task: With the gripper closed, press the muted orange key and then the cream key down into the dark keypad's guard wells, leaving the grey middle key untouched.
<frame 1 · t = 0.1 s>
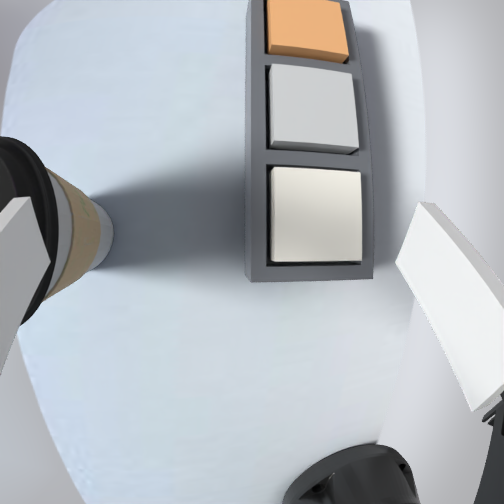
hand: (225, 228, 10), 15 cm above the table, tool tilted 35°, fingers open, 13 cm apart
key grey: (312, 108, 21), point 4 cm above the table, slide at 0.0 cm
coffee cup: (82, 235, 24), on the table
key orange: (305, 27, 21), point 4 cm above the table, slide at 0.0 cm
key cream: (315, 215, 21), point 4 cm above the table, slide at 0.0 cm
keypad: (297, 127, 26), on the table
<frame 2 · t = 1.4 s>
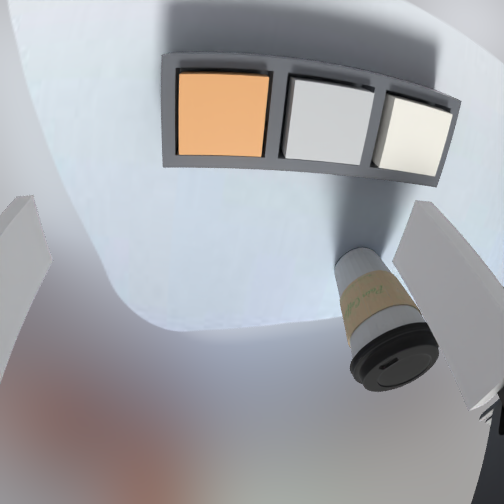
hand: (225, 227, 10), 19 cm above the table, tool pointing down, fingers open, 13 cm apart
key grey: (326, 120, 22), point 4 cm above the table, slide at 0.0 cm
coffee cup: (357, 265, 38), on the table
key orange: (222, 112, 22), point 4 cm above the table, slide at 0.0 cm
key cream: (411, 135, 23), point 4 cm above the table, slide at 0.0 cm
keypad: (312, 108, 26), on the table
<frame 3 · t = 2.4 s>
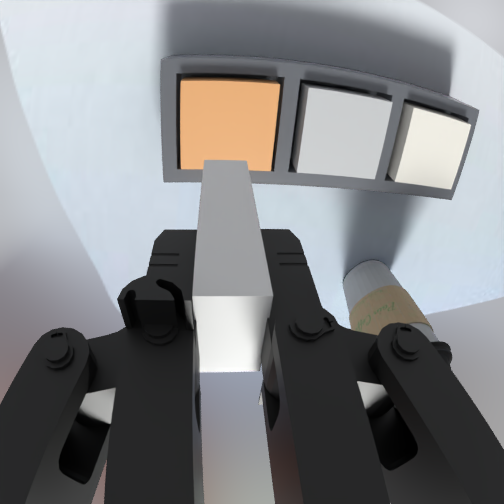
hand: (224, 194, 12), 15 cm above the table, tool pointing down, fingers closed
key grey: (340, 131, 21), point 4 cm above the table, slide at 0.0 cm
coffee cup: (366, 278, 36), on the table
key orange: (227, 122, 20), point 4 cm above the table, slide at 0.0 cm
key cream: (428, 147, 22), point 4 cm above the table, slide at 0.0 cm
keypad: (323, 116, 24), on the table
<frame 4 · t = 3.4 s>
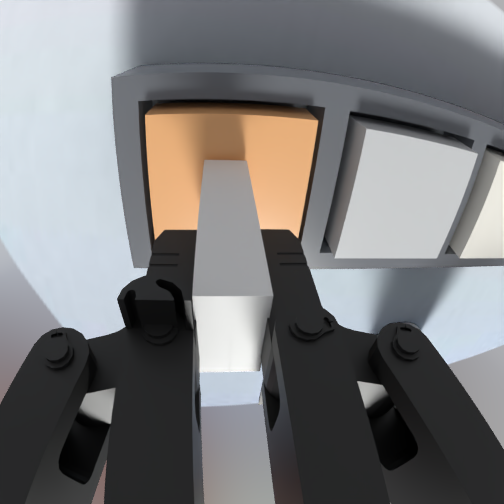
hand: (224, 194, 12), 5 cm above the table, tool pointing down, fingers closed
key grey: (401, 193, 13), point 4 cm above the table, slide at 0.0 cm
key orange: (228, 180, 13), point 4 cm above the table, slide at 0.2 cm, touching gripper
key cream: (501, 207, 14), point 4 cm above the table, slide at 0.0 cm
keypad: (366, 156, 17), on the table
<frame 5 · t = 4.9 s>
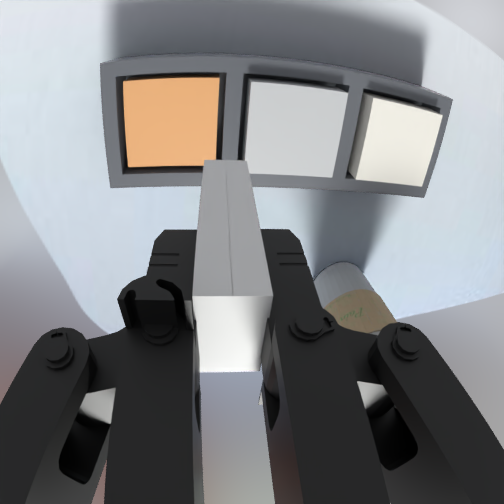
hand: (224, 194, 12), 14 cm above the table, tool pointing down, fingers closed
key grey: (292, 127, 20), point 4 cm above the table, slide at 0.0 cm
coffee cup: (337, 281, 35), on the table
key orange: (171, 119, 20), point 3 cm above the table, slide at 1.2 cm
key cream: (394, 140, 21), point 4 cm above the table, slide at 0.0 cm
keypad: (279, 111, 23), on the table
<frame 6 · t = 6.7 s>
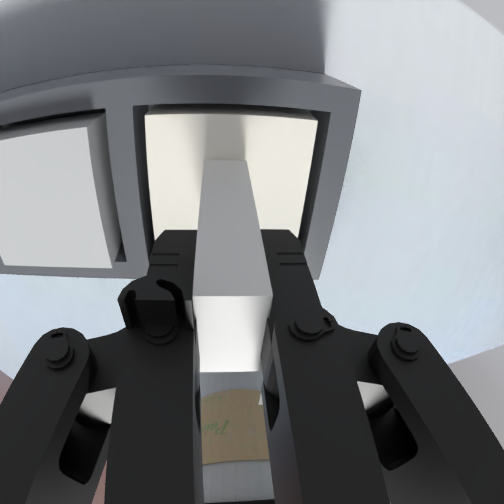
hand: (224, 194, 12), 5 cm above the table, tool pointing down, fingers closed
key grey: (43, 195, 11), point 4 cm above the table, slide at 0.0 cm
coffee cup: (235, 357, 27), on the table
key cream: (227, 180, 13), point 3 cm above the table, slide at 1.0 cm, touching gripper
keypad: (80, 155, 15), on the table
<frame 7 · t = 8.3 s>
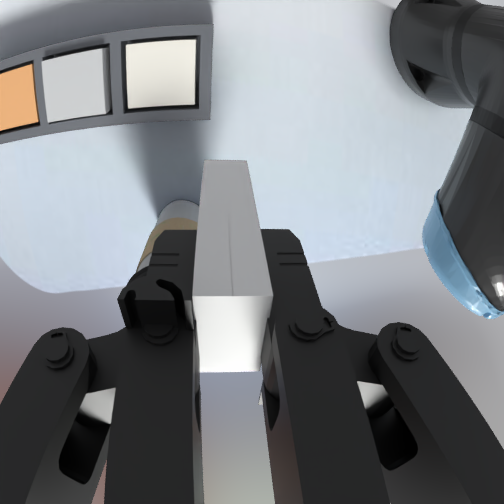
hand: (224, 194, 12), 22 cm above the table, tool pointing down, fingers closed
key grey: (76, 84, 22), point 4 cm above the table, slide at 0.0 cm
coffee cup: (183, 220, 38), on the table
key orange: (15, 97, 22), point 3 cm above the table, slide at 1.2 cm
key cream: (161, 72, 24), point 3 cm above the table, slide at 1.2 cm
keypad: (92, 77, 26), on the table
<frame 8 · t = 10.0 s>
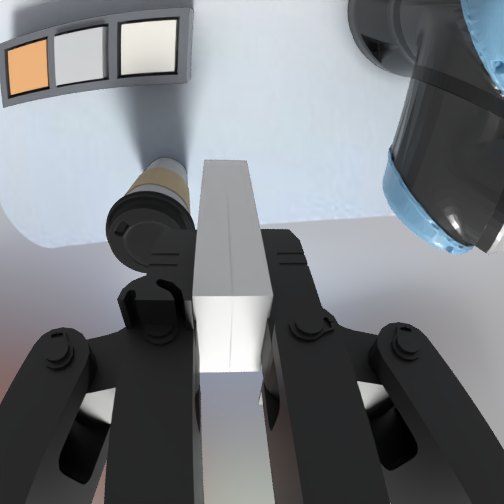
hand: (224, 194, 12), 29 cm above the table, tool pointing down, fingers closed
key grey: (81, 55, 26), point 4 cm above the table, slide at 0.0 cm
coffee cup: (166, 177, 42), on the table
key orange: (31, 66, 26), point 3 cm above the table, slide at 1.2 cm
key cream: (149, 46, 28), point 3 cm above the table, slide at 1.2 cm
keypad: (94, 52, 30), on the table
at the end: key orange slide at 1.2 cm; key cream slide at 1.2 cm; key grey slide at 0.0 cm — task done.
